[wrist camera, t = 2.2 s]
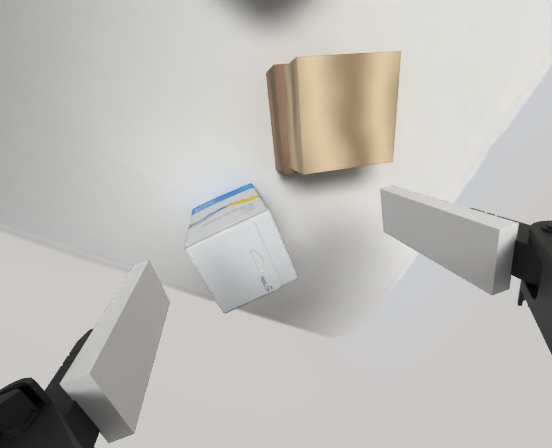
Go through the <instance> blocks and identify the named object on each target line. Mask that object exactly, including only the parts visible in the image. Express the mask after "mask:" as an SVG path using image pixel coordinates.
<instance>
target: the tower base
mask: <svg viewBox="0 0 552 448" xmlns="http://www.w3.org/2000/svg"><path fill="white" fill-rule="evenodd" d="M287 65H288V64H278V65H273V66H272V67H271V68H270V69H269V71H268V72H267V73H266V77H267V87H268V97H269V106H270V116H271V125H272V135H273V144H274V154H275V164H276V170H277V171H279V172H281V173H282V174H284V175H285V174H292V173H298V172H297V171H295V170H293V169H291V166H290V153H289V139H288V125H287V112H286V98H285V84H284V70H283V68H285V67H286V66H287Z"/></svg>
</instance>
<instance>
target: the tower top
mask: <svg viewBox="0 0 552 448" xmlns="http://www.w3.org/2000/svg"><path fill="white" fill-rule="evenodd" d="M400 58H401V51H393V52H375V53H357V54H339V55H322V56H304V57H296V58H295V59H294V60H293V61H291V62H290V63H289V64H288V65H287V66H286V67H285V68H283V70H284V84H285V98H286V112H287V125H288V139H289V153H290V166H291V169H293V170H295V171H297V172H299V173H301V174H303V175H304V174H311V173H318V172H325V171H332V170H339V169H346V168H353V167H360V166H367V165H374V164H381V163H388V162H393V153H394V139H395V126H396V112H397V99H398V85H399V72H400Z"/></svg>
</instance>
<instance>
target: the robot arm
mask: <svg viewBox="0 0 552 448" xmlns="http://www.w3.org/2000/svg"><path fill="white" fill-rule="evenodd" d="M380 190H381V203H382V216H383V229H384V232H385V233H387V234H389V235H390V236H392V237H394V238H395V239H397V240H399V241H400V242H402V243H404V244H406V245H407V246H409V247H411V248H412V249H414V250H416V251H417V252H419V253H421V254H423V255H424V256H426V257H428V258H429V259H431V260H433V261H435V262H436V263H438V264H440V265H441V266H443V267H445V268H446V269H448V270H450V271H451V272H453V273H455V274H456V275H458V276H460V277H462V278H463V279H465V280H467V281H468V282H470V283H472V284H473V285H475V286H477V287H479V288H480V289H482V290H484V291H485V292H487V293H489V294H490V295H495V294H497V293H500V292H502V291H505V290H507V289H509V286H510V280H511V275H513V276H515V277H517V278H519V279H521V285H520V291H519V297H518V305H520V306H522V302H523V301H524V300H526V301H527V303H528V307H529V308H530V310H531V312H532V314H533V316H534V318H535V320H536V322H537V325H538V327H539V329H540V331H541V333H542V335H543V337H544V339H545V341H546V344H547V346H548V348H549V350H550V352H551V354H552V221H540V222H536V223H533V224H532V225H527V224H524V223H520V222H517V221H514V220H510V219H507V218H504V217H500V216H495V215H493V214H490V213H485V212H483V211H480V210H476V209H473V208H467V207H463V206H460V205H457V204H454V203H450V202H447V201H444V200H440V199H437V198H434V197H430V196H427V195H423V194H420V193H417V192H413V191H410V190H407V189H403V188H400V187H397V186H393V185H392V186H388V187H385V188H382V189H380ZM169 303H170V302H169V300H168V298H167V295H166V293H165V292H164V290H163V287H162V285H161V283H160V281H159V279H158V277H157V275H156V273H155V271H154V269H153V267H152V265H151V263H150V261H149V260H147V261H144V262H141V263H138V264H134V265H133V267H132V268H131V270H130V271H129V273H128V275H127V276H126V278H125V280H124V281H123V283H122V284H121V286H120V287H119V289H118V291H117V292H116V294H115V296H114V297H113V299H112V301H111V302H110V304H109V305H108V307H107V308H106V310H105V312H104V313H103V315H102V316H101V318H100V320H99V321H98V323H97V324H96V326H95V328H94V329H91V330H89V331H88V332H87V333H86V334H85V335H84V336H83V337H82V338H81V339H80V340H79V341H77V343H76V345H75V346H74V348H73V349H72V350H71V352H70V355H69V356H67V358H66V359H65V361H64V362H63V366H61V367H60V369H59V370H58V372H57V373H56V375H55V376H54V378H53V379H52V381H51V382H50V384H49V385H48V387H47V388H46V390H45V391H44V390H43V389H42V388H41V387H40V386H39V384H38V383H37V382H36V381H35V380H34V379H32V378H23V379H20V380H18V381H15V382H13V383H11V384H9V385H8V386H6V387H4V388H2V389H1V390H0V448H94V445H95V442H96V440H97V437H98V434H99V432H100V433H101V434H102V435H103V437H104V438H105V439H106V440H107V442H108V443H111V442H113V441H116V440H119V439H121V438H124V437H126V436H129V435H131V434H134V432H135V429H136V425H137V421H138V418H139V414H140V410H141V407H142V403H143V399H144V395H145V392H146V388H147V385H148V381H149V377H150V373H151V370H152V366H153V363H154V358H155V355H156V351H157V348H158V344H159V340H160V337H161V333H162V329H163V325H164V322H165V318H166V315H167V311H168V307H169Z"/></svg>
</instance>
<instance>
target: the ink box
mask: <svg viewBox="0 0 552 448" xmlns="http://www.w3.org/2000/svg"><path fill="white" fill-rule="evenodd" d="M184 250H185V252H186V253H187V255H188V257H189V258H190V260H191V261H192V263H193V265H194V266H195V268H196V269H197V271H198V273H199V274H200V276H201V278H202V279H203V281H204V282H205V284H206V286H207V287H208V289H209V291H210V292H211V294H212V295H213V297H214V299H215V300H216V302H217V303H218V305H219V307H220V308H221V310H222V311H223V313H228V312H230V311H232V310H234V309H237V308H239V307H241V306H243V305H246V304H248V303H250V302H252V301H254V300H256V299H259V298H261V297H263V296H265V295H267V294H269V293H271V292H273V291H275V290H277V289H279V288H281V287H283V286H285V285H287V284H289V283H291V282H293V281H295V280H297V279H298V276H297V274H296V271H295V269H294V266H293V264H292V261H291V259H290V257H289V254H288V252H287V249H286V247H285V245H284V242H283V240H282V237H281V235H280V233H279V230H278V228H277V225H276V223H275V221H274V219H273V217H272V214H271V212H270V210H269V209H268V207H267V206H266V204H265V203H264V201H263V200H262V198H261V197H260V195H259V194H258V192H257V191H256V189H255V187H254V186H253V185H252V184H248V185H245V186H243V187H241V188H239V189H236V190H234V191H231V192H229V193H227V194H224V195H222V196H220V197H217V198H215V199H213V200H211V201H209V202H206V203H204V204H202V205H200V206H198V207H196V208H194V209H193V211H192V215H191V220H190V224H189V228H188V232H187V237H186V241H185V245H184Z"/></svg>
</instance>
